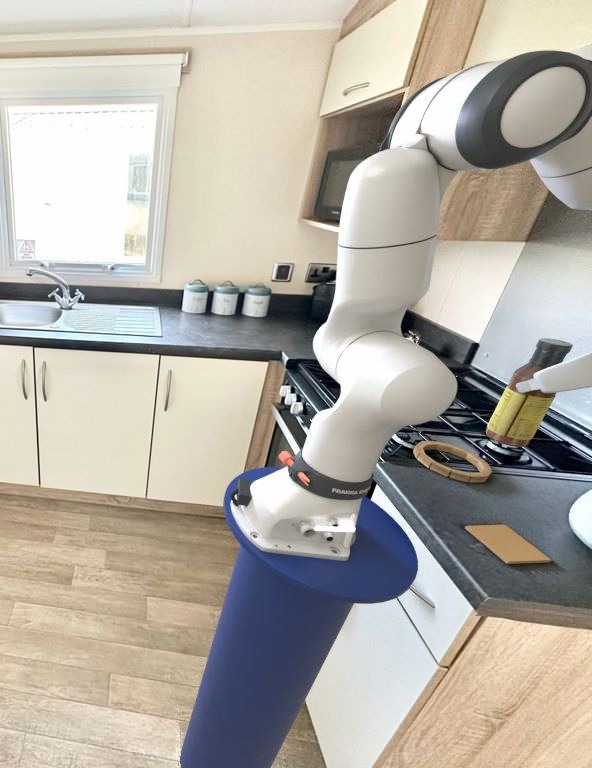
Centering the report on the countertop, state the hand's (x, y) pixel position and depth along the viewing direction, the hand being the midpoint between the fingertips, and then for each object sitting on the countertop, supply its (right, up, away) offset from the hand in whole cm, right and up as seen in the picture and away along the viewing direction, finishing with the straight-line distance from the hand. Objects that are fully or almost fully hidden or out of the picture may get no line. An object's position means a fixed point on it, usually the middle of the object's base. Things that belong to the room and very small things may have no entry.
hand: (529, 385), depth 74 cm
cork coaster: (-6, -29, -1) cm, 29 cm away
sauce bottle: (0, -11, +5) cm, 12 cm away
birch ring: (+4, -18, +20) cm, 27 cm away
